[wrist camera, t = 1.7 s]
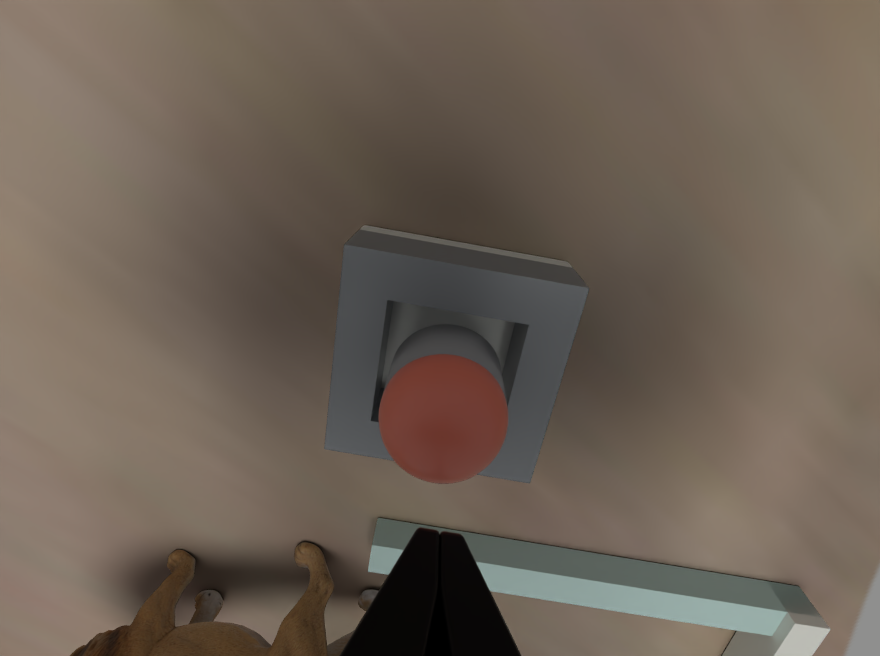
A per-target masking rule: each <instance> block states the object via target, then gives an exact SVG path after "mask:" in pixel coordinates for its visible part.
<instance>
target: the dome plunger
mask: <svg viewBox="0 0 880 656" xmlns="http://www.w3.org/2000/svg"><path fill="white" fill-rule="evenodd" d="M507 428H508V408H507V402H506V395H505V389H504V383H503V377H502V371H501V365H500V362H499V358H498V356H497V354H496V352H495V350H494V349H493V347H492V346H491V345H490V344H489V342H488V341H487V340H486V339H484V338H483V337H482V336H481V335H479V334H478V333H476V332H474V331H472V330H471V329H468V328H465V327H462V326H458V325H451V324H439V325H432V326H429V327H425V328H423V329H420V330H418V331H416V332H415V333H413V334H412V335H410V336H409V337H408V338H407V339H406V340H405V341H404V342H403V343H402V344H401V345H400V346H399V348H398V349H397V351H396V353H395V355H394V358H393V361H392V364H391V368H390V371H389V374H388V378H387V381H386V384H385V388H384V391H383V395H382V398H381V402H380V407H379V429H380V433H381V437H382V440H383V443H384V445H385V447H386V449H387V451H388V453H389V454H390V456H391V457H392V458H393V460H394V461H395V462H396V463H397V464H398V465H399V466H400V467H401V468H402V469H403V470H405V471H406V472H407V473H409V474H410V475H412V476H414V477H416V478H418V479H421V480H424V481H427V482H431V483H439V484H449V483H456V482H461V481H464V480H467V479H469V478H471V477H473V476H475V475H476V474H478V473H480V472H481V471H482V470H484V469H485V468H486V467H487V466H488V465H489V464H490V463H491V462H492V461H493V460H494V458H495V457H496V456H497V454H498V453H499V451H500V449H501V447H502V445H503V443H504V440H505V437H506V433H507Z"/></svg>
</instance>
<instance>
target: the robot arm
mask: <svg viewBox="0 0 880 656" xmlns="http://www.w3.org/2000/svg"><path fill="white" fill-rule="evenodd" d="M339 656H521V654H520V652H519V650H518V648H517V646H516V644H515V642H514V640H513V638H512V635H511V633H510V631H509V629H508V627H507V625H506V623H505V621H504V619H503V617H502V615H501V613H500V611H499V609H498V607H497V604H496V602H495V600H494V598H493V596H492V594H491V592H490V590H489V588H488V586H487V584H486V582H485V580H484V578H483V576H482V574H481V571H480V569H479V567H478V565H477V563H476V561H475V559H474V557H473V555H472V553H471V551H470V549H469V547H468V545H467V543H466V541H465V539H464V537H463V535H461V534H459V533H453V532H447V531H442V532H441V533H440V534H439V531H437V530H434V529H428V528H422V527H419V528H417V529H416V531H415V532H414V534H413V535H412V537H411V539H410V540H409V542H408V544H407V545H406V547H405V549H404V550H403V552H402V554H401V555H400V557H399V558H398V560H397V562H396V563H395V565H394V567H393V568H392V570H391V572H390V573H389V575H388V577H387V578H386V580H385V581H384V583H383V585H382V586H381V588H380V590H379V591H378V593H377V595H376V596H375V598H374V599H373V601H372V603H371V604H370V606H369V608H368V609H367V611H366V613H365V614H364V616H363V618H362V619H361V621H360V622H359V624H358V626H357V627H356V629H355V631H354V632H353V634H352V636H351V637H350V639H349V641H348V642H347V644H346V645H345V647H344V649H343V650H342V652H341V654H340V655H339Z"/></svg>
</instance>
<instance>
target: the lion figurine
mask: <svg viewBox="0 0 880 656" xmlns="http://www.w3.org/2000/svg"><path fill="white" fill-rule="evenodd" d="M294 558H295V561H296V564H297V565H298V566H299V567H302V568H308V569H309V571H310V582H309V585H308V588H307V590H306V592H305V593H304V595H303V596H302V597H301V598H300V600H299V601H298V603H297V604H296V605H295V606H294V608H293V609H292V610H291V611H290V612H289V614H288V615H287V616H286V617H285V618H284V620H283V622H282V623H281V625H280V628H279V630H278V633H277V636H276V638H275V640H274V642H273V644H272V646H271V645H270V644H269V643H268V642H267V641H266V640H265V639H264V638H263V637H262V636H261V635H260V634H258V633H256V632H255V631H253V630H251V629H249V628H247V627H245V626H242V625H238V624H234V623H224V622H213V621H214V619H215V617H216V616H217V615H218V613H219V612H220V610H221V608H222V605H223V599H222V597H221V595H220V594H219V592H217V591H215V590H205V591H201V592H200V593H199V594H198V595H197V596H196V598H195V602H196V604H195V608H196V611H195V613H194V615H193V617H192V619H191V621H190V623H189V624H188V625H183V626H179V627H175V607H176V604H177V602H178V600H179V598H180V596H181V594H182V593H183V591H184V589H185V588H186V587H187V585H188V584H189V583H190V582H191V581H192V579H193V577H194V574H195V572H194V569H195V559H194V557H192V556H191V555H190V554H189V553H187V552H186V551H184V550H175V551H174V552H172V553H171V554H170V556H169V558H168V563H167V567H168V568H169V569H170V571H171V572H172V574H171V575H169V576H168V577H167V578H166V579H165V581H164V582H163V583H162V584H161V585H160V587H159V588H158V589H157V590H156V591H155V592H154V593H153V594H152V595H151V596H150V597H149V598H148V599H147V600H146V602H145V603H144V604H143V606H142V607H141V608H140V610H139V611H138V613H137V615H136V617H135V619H134V621H133V622H132V624H131V625H130V626H127V625H125V626H121V627H118V628H117V629H115V630H113V631H112V630H108V631H106V632H104V633H99V634H97V635H96V636H95V637H94V638H93V639H91V640H90V641H89V643H88V644H87V645H83V646H81V647H79V648H78V649H76V650H75V651H74V652H73V653H72V654H71V655H70V656H339V655H340V654H341V652H342V650H343V649H344V647H345V645H346V644H347V642H348V641H349V639H350V637H351V636H352V634H353V632H354V631H355V630H354V631H352V632H351V633H349V634H347V635H345V636H343V637H342V638H340V639H338V640H336V641H334V642H333V643H331V644H329V645H328V646H327V641H326V632H325V622H324V611H325V607H326V604H327V601H328V599H329V597H330V596H331V594H332V592H333V589H334V583H333V580H332V577H331V575H330V573H329V570H328V567H327V564H326V561H325V558H324V555H323V553H322V551H321V550H320V548H318V547H317V546H316V545H314V544H311V543H306V542H303V543H301V544H299V545H298V546H296V548H295V554H294ZM377 593H378V590H372V589H371V590H365V591H363V593H362V594H361V596H360V597H359V600H358V604H359V606H360V608H362V609H363V610H364V611H367V609H368V608H369V606H370V604H371V603H372V601H373V599H374V598H375V596H376V595H377Z"/></svg>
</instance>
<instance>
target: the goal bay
mask: <svg viewBox="0 0 880 656" xmlns="http://www.w3.org/2000/svg"><path fill="white" fill-rule="evenodd" d="M419 527H422V528H428V529H434V530H437V531H439V534H440V533H441V532H442V531H447V532H453V533H459V534H461V535H463V537H464V539H465V541H466V543H467V545H468V547H469V549H470V551H471V553H472V555H473V557H474V559H475V561H476V563H477V565H478V567H479V569H480V571H481V574H482V576H483V578H484V580H485V582H486V584H487V586H488V588H489V590H490V591H493V592H499V593H505V594H512V595H518V596H524V597H530V598H537V599H543V600H549V601H555V602H562V603H568V604H574V605H580V606H587V607H593V608H599V609H605V610H612V611H618V612H624V613H630V614H637V615H643V616H649V617H655V618H661V619H668V620H674V621H680V622H686V623H693V624H699V625H705V626H711V627H718V628H724V629H730V630H736V633H735V635H734V636H733V638H732V640H731V641H730V643H729V645H728V646H727V648H726V650H725V651H724V653H723V655H722V656H812V655H813V654H814V652H815V651H816V649H817V648H818V646H819V645H820V644H821V642H822V641H823V639H824V638H825V637H826V635H827V634H828V632H829V631H830V630H831V629H830V628H829V626H828V625H827V624H826V622H825V621H824V619H823V618H822V617H821V615H820V614H819V613H818V611H817V610H816V609H815V607H814V606H813V605H812V603H811V602H810V601H809V599H808V598H807V596H806V595H805V594H804V592H803V591H802V590H801V588H800V587H799V586H793V585H787V584H781V583H775V582H769V581H763V580H757V579H751V578H744V577H738V576H732V575H726V574H720V573H714V572H708V571H702V570H696V569H689V568H683V567H677V566H671V565H665V564H659V563H653V562H647V561H640V560H634V559H628V558H622V557H616V556H610V555H604V554H598V553H592V552H585V551H579V550H573V549H567V548H561V547H555V546H549V545H543V544H536V543H530V542H524V541H518V540H512V539H506V538H500V537H494V536H488V535H481V534H475V533H469V532H463V531H457V530H451V529H445V528H439V527H432V526H426V525H420V524H414V523H408V522H402V521H396V520H390V519H383V518H378V520H377V524H376V529H375V534H374V538H373V543H372V549H371V555H370V561H369V568H368V572H374V573H381V574H387V575H389V573H390V572H391V570H392V568H393V567H394V565H395V563H396V562H397V560H398V558H399V557H400V555H401V554H402V552H403V550H404V549H405V547H406V545H407V544H408V542H409V540H410V539H411V537H412V535H413V534H414V532H415V531H416V529H417V528H419Z"/></svg>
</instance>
